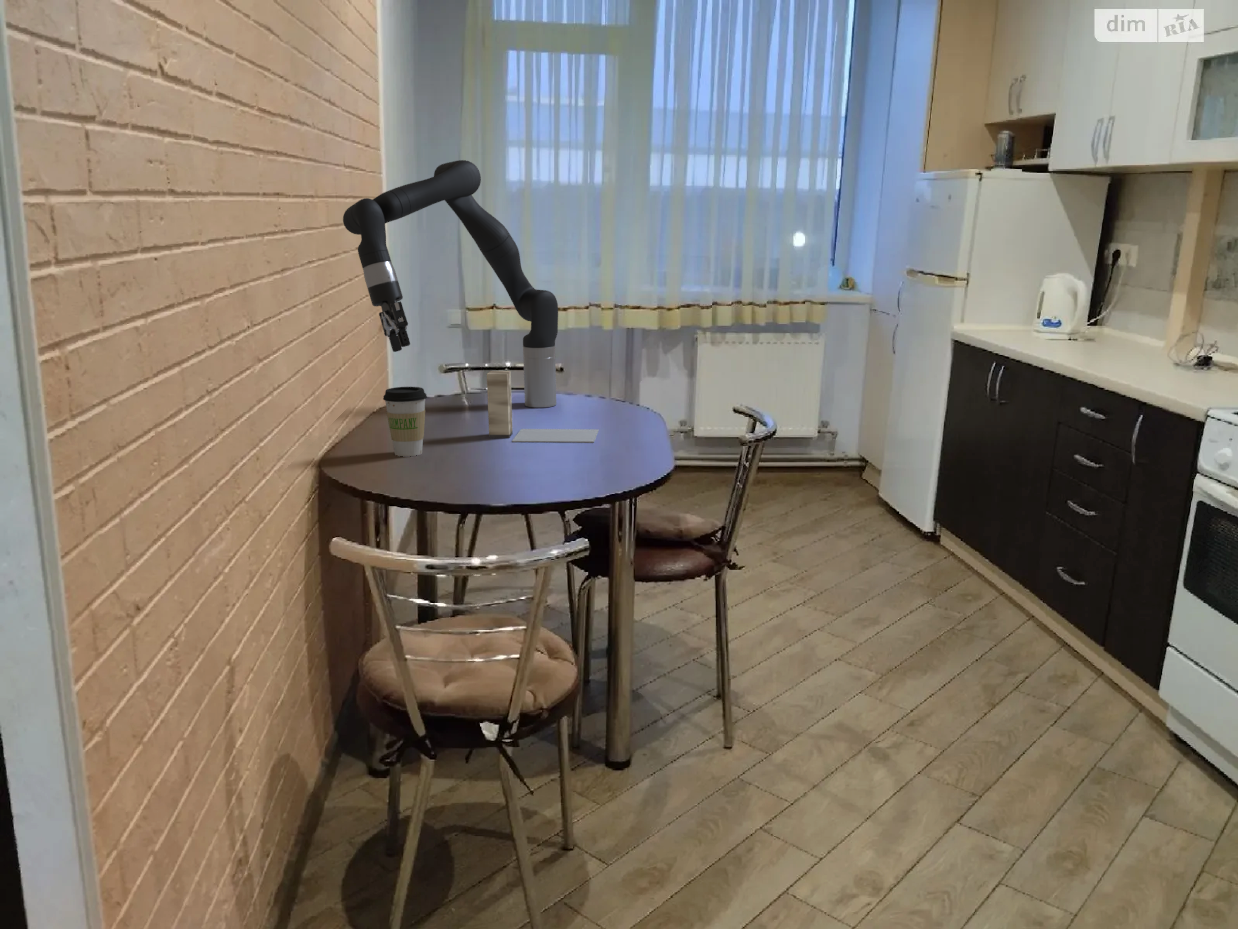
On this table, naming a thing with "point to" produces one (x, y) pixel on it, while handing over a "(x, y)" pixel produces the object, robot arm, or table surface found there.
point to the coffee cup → (406, 419)
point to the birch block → (499, 404)
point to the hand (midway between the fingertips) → (401, 348)
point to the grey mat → (556, 435)
